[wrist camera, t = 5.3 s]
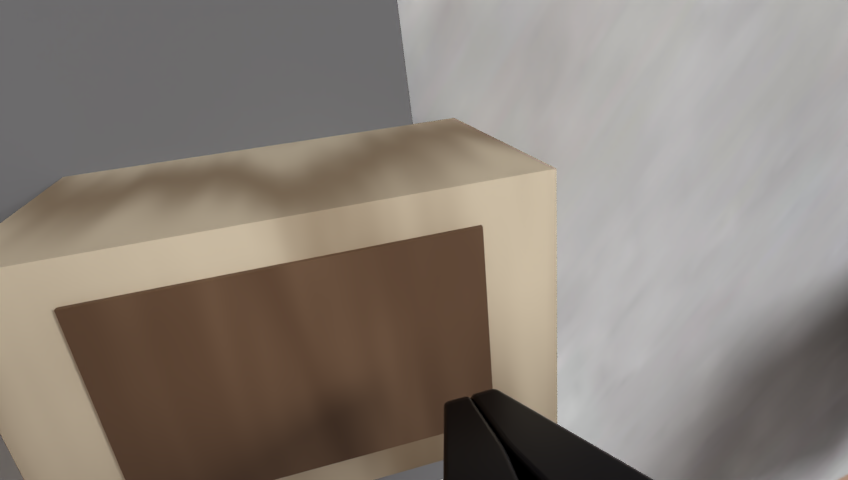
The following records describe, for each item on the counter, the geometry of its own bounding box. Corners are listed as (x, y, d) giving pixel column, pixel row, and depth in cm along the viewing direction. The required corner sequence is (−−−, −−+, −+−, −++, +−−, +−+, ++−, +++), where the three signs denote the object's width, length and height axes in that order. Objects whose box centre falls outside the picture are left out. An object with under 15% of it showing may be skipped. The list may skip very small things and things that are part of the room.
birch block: (559, 170, 10) (-84, 284, 8) (558, 430, 12) (66, 570, 10) (453, 117, 15) (63, 177, 13) (468, 304, 18) (137, 378, 16)
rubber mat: (370, -179, 13) (373, -185, 12) (454, 466, 20) (457, 474, 20) (-251, -141, 10) (-270, -147, 10) (113, 570, 18) (110, 581, 18)
